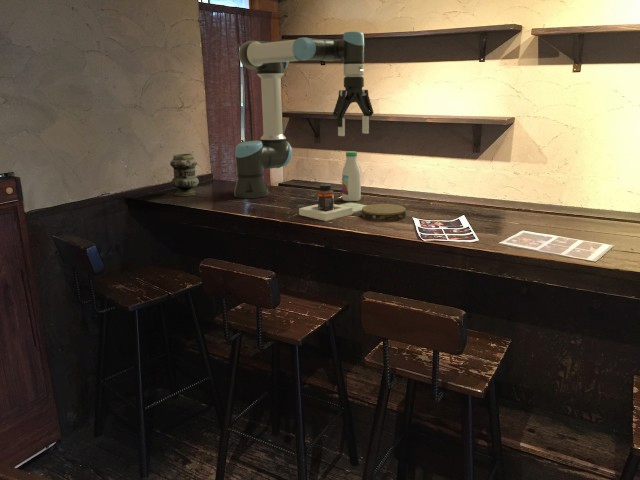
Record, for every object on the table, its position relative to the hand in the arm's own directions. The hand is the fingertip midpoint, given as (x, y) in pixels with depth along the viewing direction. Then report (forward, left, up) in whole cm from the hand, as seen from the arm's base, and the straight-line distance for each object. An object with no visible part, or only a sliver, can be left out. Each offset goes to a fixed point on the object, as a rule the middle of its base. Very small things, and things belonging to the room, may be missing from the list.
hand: (353, 134), depth 202 cm
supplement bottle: (+2, -17, -28) cm, 33 cm away
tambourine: (+19, -4, -28) cm, 34 cm away
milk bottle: (-9, +9, -28) cm, 31 cm away
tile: (+2, -3, -28) cm, 28 cm away
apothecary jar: (-74, -31, -28) cm, 85 cm away
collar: (+2, -17, -28) cm, 33 cm away
